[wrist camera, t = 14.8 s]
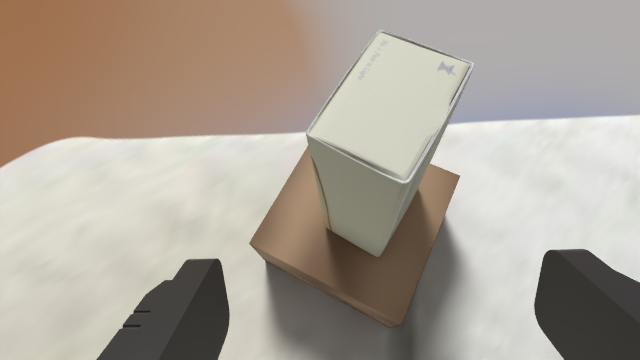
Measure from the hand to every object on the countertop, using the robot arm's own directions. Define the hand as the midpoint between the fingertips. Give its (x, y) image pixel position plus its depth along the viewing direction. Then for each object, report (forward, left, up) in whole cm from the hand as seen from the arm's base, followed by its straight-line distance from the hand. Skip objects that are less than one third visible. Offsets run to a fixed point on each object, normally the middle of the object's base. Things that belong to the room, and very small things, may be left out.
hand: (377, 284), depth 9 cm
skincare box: (-2, -7, -14) cm, 16 cm away
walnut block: (0, -7, -20) cm, 21 cm away
